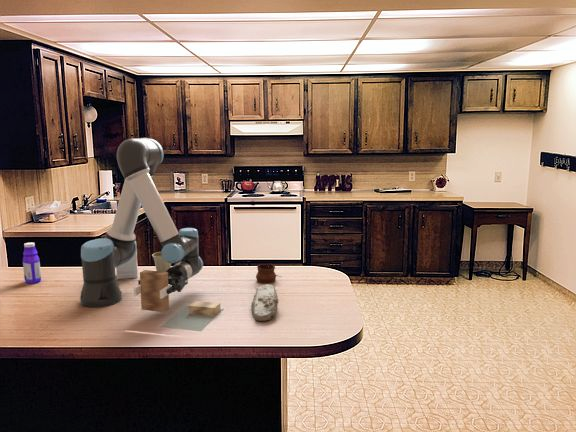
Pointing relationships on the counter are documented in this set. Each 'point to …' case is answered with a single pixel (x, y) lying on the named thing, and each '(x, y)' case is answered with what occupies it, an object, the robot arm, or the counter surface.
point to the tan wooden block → (204, 308)
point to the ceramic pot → (266, 273)
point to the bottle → (31, 264)
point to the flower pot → (160, 262)
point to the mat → (188, 320)
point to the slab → (153, 290)
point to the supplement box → (128, 268)
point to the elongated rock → (264, 303)
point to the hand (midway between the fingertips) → (147, 293)
